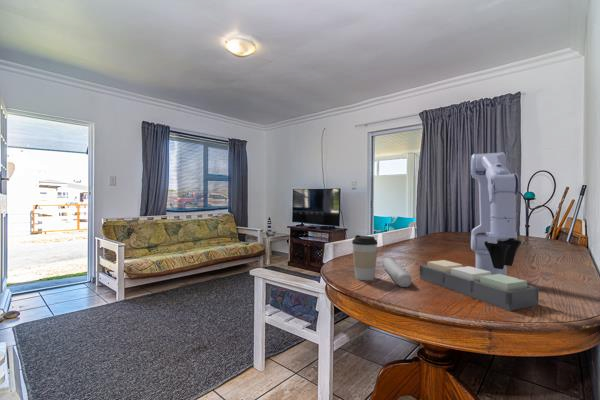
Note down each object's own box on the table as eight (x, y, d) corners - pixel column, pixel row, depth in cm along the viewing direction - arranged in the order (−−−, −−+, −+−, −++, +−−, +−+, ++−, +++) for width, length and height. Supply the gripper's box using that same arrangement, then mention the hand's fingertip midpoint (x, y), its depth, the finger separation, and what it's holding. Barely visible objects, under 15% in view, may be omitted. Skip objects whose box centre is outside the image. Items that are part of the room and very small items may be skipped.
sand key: (444, 266, 103) (444, 260, 103) (462, 271, 96) (462, 264, 96) (427, 268, 101) (427, 261, 101) (444, 273, 94) (444, 266, 94)
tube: (416, 276, 91) (397, 259, 116) (400, 271, 91) (384, 254, 116) (410, 292, 91) (392, 271, 116) (394, 287, 91) (380, 267, 116)
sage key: (499, 282, 84) (499, 273, 84) (527, 289, 77) (527, 280, 77) (480, 284, 82) (480, 276, 82) (507, 293, 75) (507, 283, 75)
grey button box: (444, 275, 105) (444, 263, 105) (538, 305, 76) (538, 287, 76) (419, 278, 102) (419, 265, 102) (509, 310, 73) (509, 292, 72)
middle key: (468, 273, 94) (468, 266, 94) (491, 279, 87) (491, 271, 87) (451, 275, 91) (451, 268, 91) (472, 282, 84) (472, 274, 84)
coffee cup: (382, 277, 104) (382, 235, 104) (369, 282, 97) (369, 238, 97) (360, 273, 110) (360, 233, 110) (347, 278, 103) (346, 236, 103)
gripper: (497, 216, 87) (497, 260, 87) (475, 218, 78) (475, 267, 79) (525, 217, 81) (525, 265, 81) (505, 219, 73) (505, 273, 73)
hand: (502, 266), depth 79 cm, fingers open, 5 cm apart
